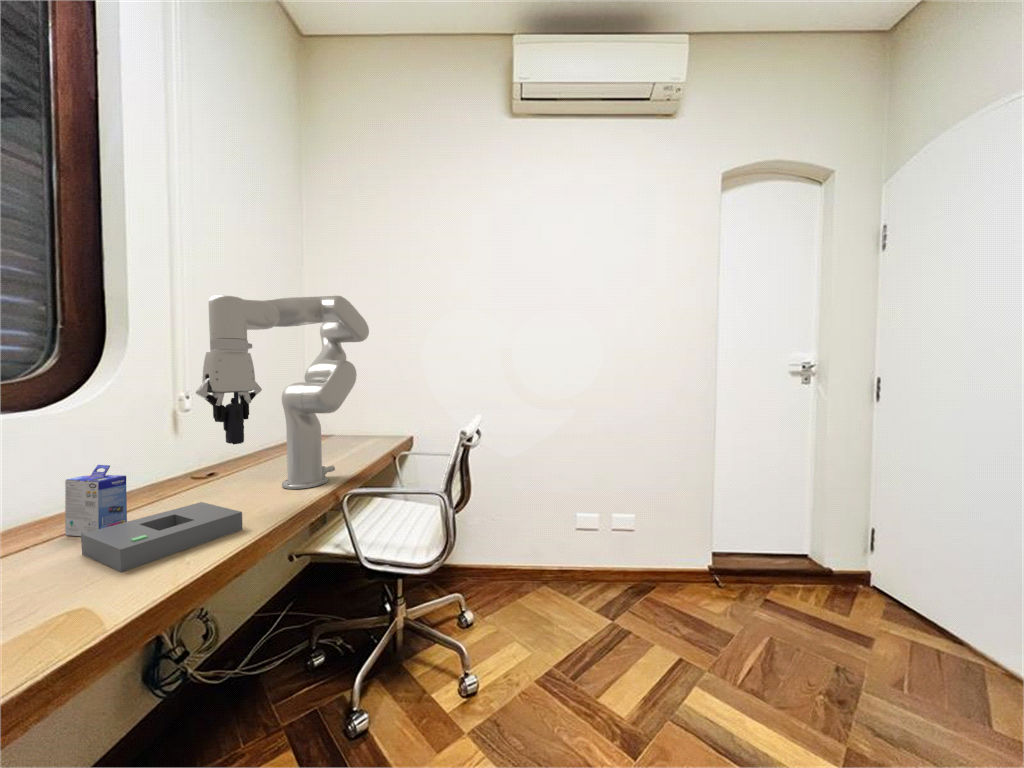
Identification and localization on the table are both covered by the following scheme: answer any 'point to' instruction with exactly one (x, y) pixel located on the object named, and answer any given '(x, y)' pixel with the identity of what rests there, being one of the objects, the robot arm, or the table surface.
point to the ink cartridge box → (94, 502)
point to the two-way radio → (234, 421)
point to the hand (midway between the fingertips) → (231, 419)
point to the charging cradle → (159, 535)
